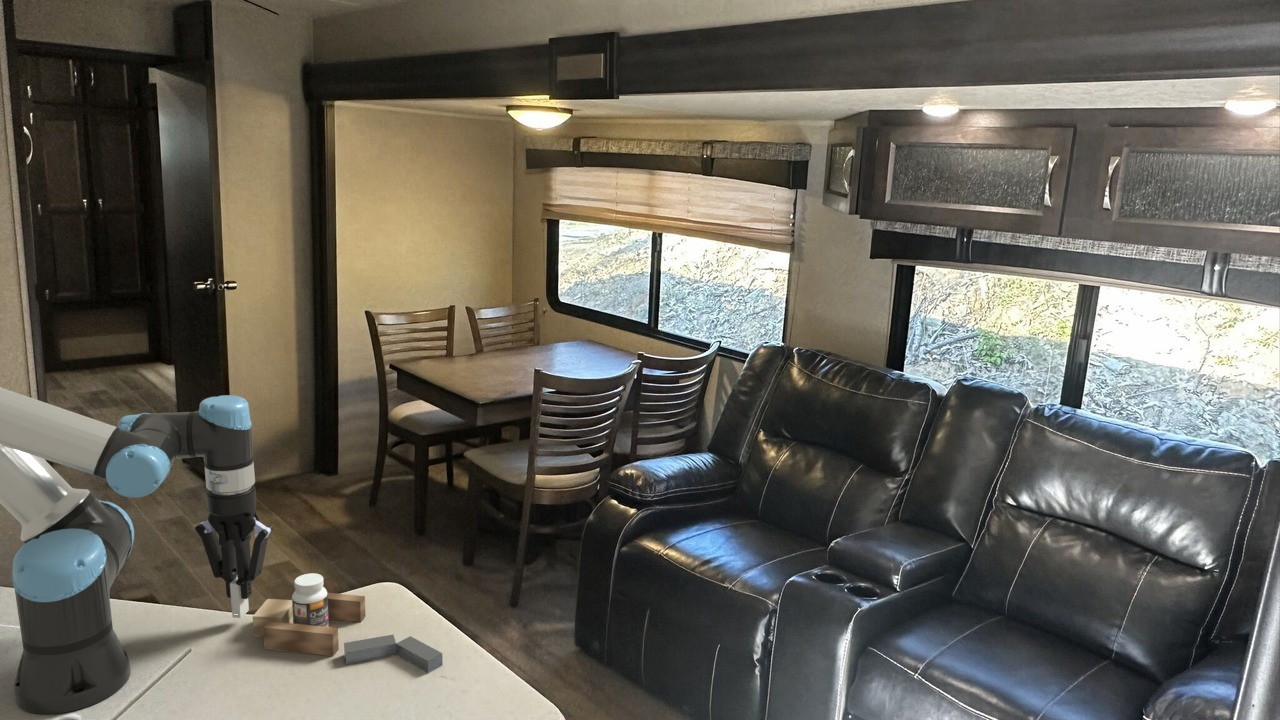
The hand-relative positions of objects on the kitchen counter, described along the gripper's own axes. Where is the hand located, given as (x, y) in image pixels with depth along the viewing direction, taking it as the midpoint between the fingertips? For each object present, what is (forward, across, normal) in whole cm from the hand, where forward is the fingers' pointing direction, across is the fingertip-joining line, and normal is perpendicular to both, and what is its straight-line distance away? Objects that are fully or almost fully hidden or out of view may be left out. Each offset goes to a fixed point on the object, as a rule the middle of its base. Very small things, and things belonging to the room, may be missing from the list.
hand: (240, 613), depth 158 cm
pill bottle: (+2, +13, 0) cm, 13 cm away
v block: (+2, +30, -5) cm, 30 cm away
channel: (+2, +14, 0) cm, 14 cm away
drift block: (+2, +6, 0) cm, 7 cm away
